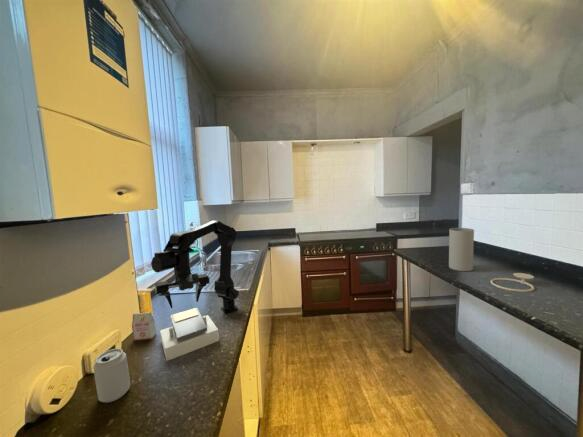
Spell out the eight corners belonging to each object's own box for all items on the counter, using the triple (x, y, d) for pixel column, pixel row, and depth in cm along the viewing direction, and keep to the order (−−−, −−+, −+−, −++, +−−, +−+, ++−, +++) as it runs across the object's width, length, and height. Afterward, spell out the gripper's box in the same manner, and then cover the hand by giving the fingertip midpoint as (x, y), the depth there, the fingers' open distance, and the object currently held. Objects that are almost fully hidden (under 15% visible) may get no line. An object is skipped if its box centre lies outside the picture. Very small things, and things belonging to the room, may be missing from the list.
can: (93, 398, 69) (87, 358, 67) (123, 380, 75) (117, 343, 74) (105, 409, 65) (99, 367, 64) (135, 389, 71) (130, 351, 70)
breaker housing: (161, 341, 94) (159, 322, 93) (208, 325, 104) (207, 307, 103) (166, 361, 83) (163, 339, 82) (219, 340, 93) (217, 321, 92)
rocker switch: (170, 319, 96) (169, 315, 95) (197, 310, 101) (197, 306, 101) (176, 342, 84) (176, 337, 84) (207, 331, 90) (207, 326, 90)
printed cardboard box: (138, 334, 100) (135, 311, 99) (156, 333, 100) (153, 310, 99) (133, 340, 96) (130, 316, 95) (151, 338, 96) (148, 314, 95)
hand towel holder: (482, 274, 132) (511, 269, 137) (482, 282, 133) (511, 277, 137) (517, 286, 116) (549, 279, 121) (517, 294, 116) (548, 288, 121)
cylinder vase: (465, 265, 160) (466, 227, 158) (477, 271, 148) (478, 230, 145) (444, 265, 162) (445, 228, 159) (455, 272, 149) (456, 231, 146)
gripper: (156, 275, 82) (159, 319, 83) (212, 265, 92) (214, 305, 94) (153, 268, 92) (156, 308, 93) (204, 259, 102) (207, 296, 103)
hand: (184, 304), depth 95 cm, fingers open, 9 cm apart
